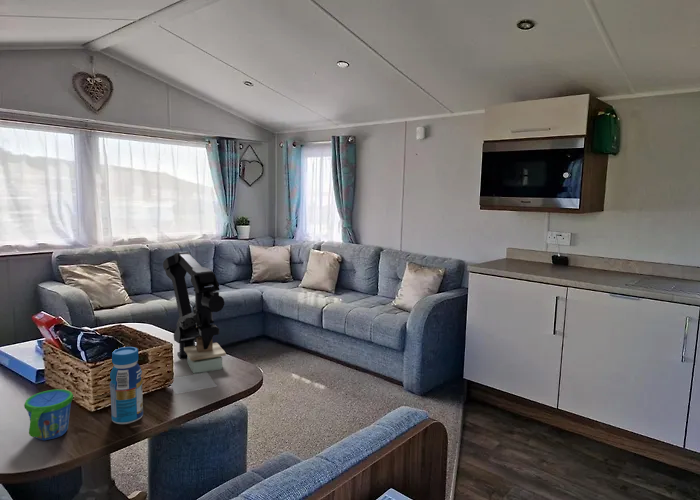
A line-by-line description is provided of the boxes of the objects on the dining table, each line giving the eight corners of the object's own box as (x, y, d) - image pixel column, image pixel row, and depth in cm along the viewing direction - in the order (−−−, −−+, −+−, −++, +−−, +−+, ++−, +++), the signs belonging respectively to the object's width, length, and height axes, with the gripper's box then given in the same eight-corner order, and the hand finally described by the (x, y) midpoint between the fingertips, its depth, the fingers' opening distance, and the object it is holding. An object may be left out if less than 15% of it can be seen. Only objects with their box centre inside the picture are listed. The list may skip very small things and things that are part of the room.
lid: (183, 349, 173) (183, 335, 172) (216, 345, 179) (216, 331, 178) (191, 361, 163) (190, 345, 162) (225, 355, 169) (225, 340, 168)
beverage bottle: (104, 420, 133) (101, 352, 130) (130, 408, 140) (128, 343, 137) (124, 428, 129) (121, 358, 126) (150, 415, 136) (148, 348, 133)
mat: (168, 380, 160) (168, 378, 160) (207, 373, 167) (207, 372, 167) (175, 395, 149) (175, 394, 149) (216, 387, 156) (216, 386, 156)
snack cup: (52, 451, 117) (50, 412, 116) (10, 449, 118) (7, 411, 116) (87, 419, 133) (86, 385, 131) (50, 418, 133) (48, 384, 132)
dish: (187, 365, 173) (187, 353, 173) (215, 360, 178) (214, 349, 178) (193, 375, 165) (193, 362, 164) (222, 370, 170) (222, 358, 169)
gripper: (175, 301, 172) (176, 342, 175) (185, 315, 156) (186, 360, 159) (206, 298, 178) (206, 338, 180) (219, 311, 162) (220, 354, 164)
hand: (204, 347), depth 171 cm, fingers closed on lid, 3 cm apart
